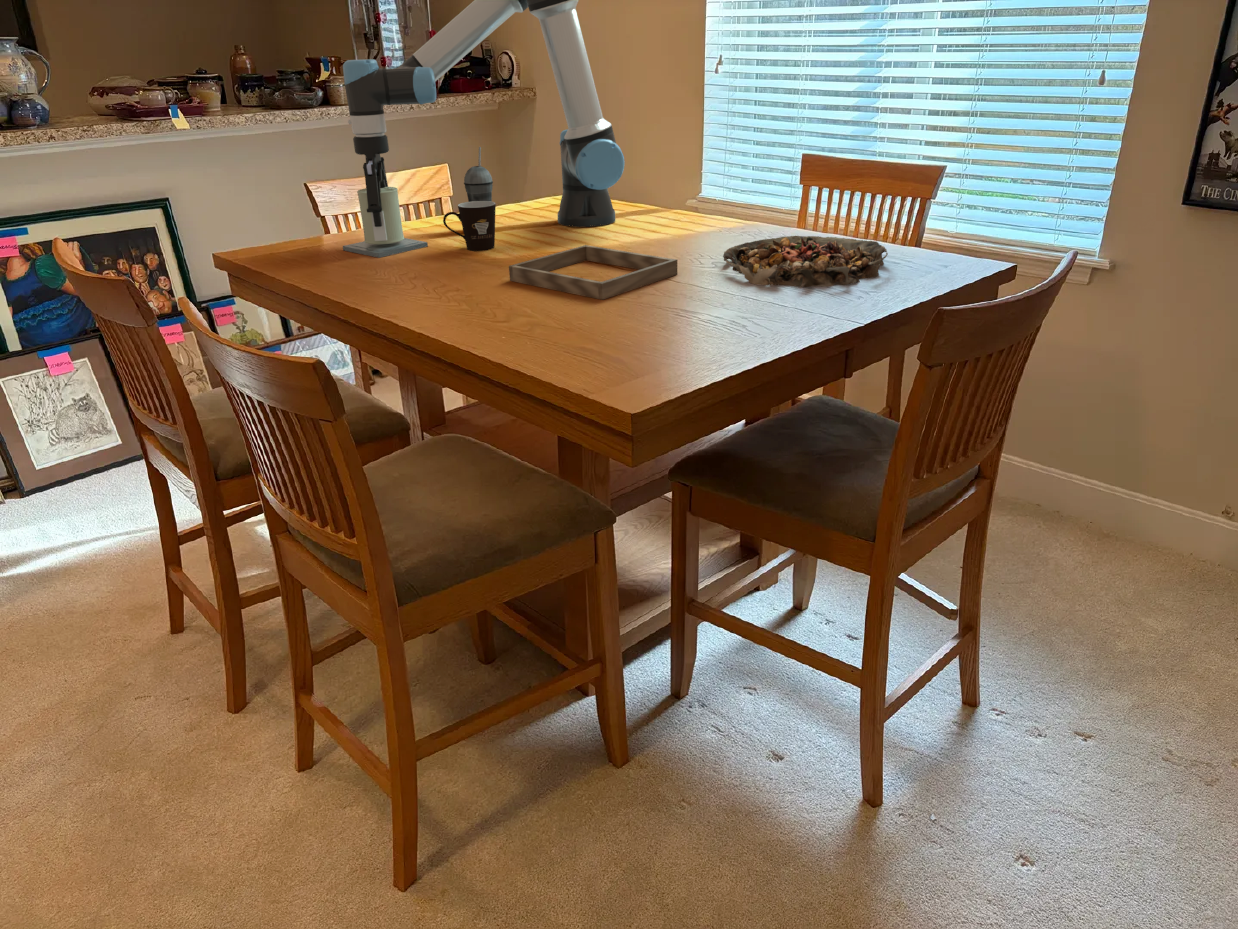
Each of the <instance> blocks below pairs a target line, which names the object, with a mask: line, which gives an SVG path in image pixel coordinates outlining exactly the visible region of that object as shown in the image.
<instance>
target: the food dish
mask: <svg viewBox="0 0 1238 929" xmlns="http://www.w3.org/2000/svg"><path fill="white" fill-rule="evenodd" d="M883 253H885V255H884V256H883ZM888 254H889V253H888V250H887V248H886V247H885V246H884V245H881V244H880V243H879V242H878V241H876V240H863V239H855V238H846V237H836V236H835V237H833V236H825V237H823V236H820V235H819V236H818V235H817V236H816V235H815V236H814V235H809V236H804V235H789V236H780V237H775V238H767V239H766V238H764V239H758V240H753V241H750V242H749V241H748V242H744V243H741V244H738V245H737V244H736V245H734V246H731V247H729V248H728V249H726V250H725V251H723V256H722V257H723V261H724V262H726V263H727V264H728V265H730V266H732V270H733V271H735V272H738V274H742V275H744V278H745V280H747V281H748V283H750V284H752V285H759V286H760V285H762V286H785V287H786V286H787V287H788V286H789V287H798V288H800V289H802V288H808V287H812V288H814V287H820V288H826V287H827V288H828V287H833V286H847V285H852V284H853V285H854V284H856V283H859V282H861V280H863V279H874V278H876V277H879V275H880V274H879V270H880V267H881V266H884V265H885V263H884V260H885V259H886V257H887V256H888ZM729 260H730V261H729ZM731 261H732V262H731Z"/></svg>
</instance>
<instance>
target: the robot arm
mask: <svg viewBox="0 0 1238 929" xmlns="http://www.w3.org/2000/svg"><path fill="white" fill-rule="evenodd" d="M579 1H580V0H473V1H472V2H471V3H469V5H467V6H466V7H465V8H464V9H462V10H461V11H460V12H459V14H457V15H455V17H453V18H452V19H451V20H450V21H449V22H448V23H447V24H446V25H444V26H443V27H442V28H441V29H440V30H439V31H438V32H436V33H435V34H434V35H433V36H432V37H431V38H430V39H428V40H427V41H426V42H425V43H424V44H423V45H422V46H421V47H419V49H417V50H416V51H415V52H414V53H412V55H411V56H409V57H408V58H407V59H406V60H404V62H403V63H401V64H400V65H398V66H397V67H395V68H394V67H393V68H380V67H379V65H378V61H377V60H376V59H373V58H372V59H369V58H368V59H347V60H346V61H345V62H344V63H343V64H342V69H343V70H342V71H343V80H344V89H345V95H346V101H347V108H348V113H349V119H348V120H347V124H349V125H351V131H352V134H353V135H355V136H353V138H352V140H353V148H354V153H355V154H356V155H361V156H362V155H364V156H365V162H363V166H362V169H363V173H364V174H363V175H364V180H365V188H366V192H367V201H368V209H367V212H371V218H372V225H373V231H374V238H375V241H386V240H387V234H386V227H385V220H384V213H383V211H382V205H381V196H380V192H381V189H380V188H385V187H389V185H388V178H387V173H386V168H385V158H384V157H383V156H381V155H382V154H383V155H384V154H386V153H388V152H390V147H389V139H388V136H387V135H386V134H385V133H387V131H388V129H387V122H386V117H385V111H384V106H393V105H395V106H396V105H400V106H401V105H424V104H433V103H435V102H436V100H437V88H436V86H437V85H436V82H437V81H438V80H439V79H440V78H441V77H443V76H444V75H445V74H446V73H448V71H450V69H452V68H453V67H454V66H455V65H456V64H458V63H459V62H460V61H461V60H462V59H463V58H465V57H466V55H468V54H469V53H471V51H473V50H474V49H475V48H476V47H477V46H478V45H480V44H481V43H482V42H483V41H484V40H485V39H487V37H489V36H490V35H491V34H492V33H494V31H495V30H497V29H498V28H499V27H500V26H501V25H502V24H504V23H505V22H506V21H507V20H508V19H509V18H510V17H512V16H513V15H514V14H516V13H520V14H521V13H524V12H525V11H526V10H527V9H528V10H529V14H531V15H532V16H534V17H535V18H537V19H538V21H539V24H540V29H541V33H542V36H543V40H544V44H545V47H546V51H547V54H548V59H549V62H550V66H551V69H552V72H553V77H554V81H555V84H556V88H557V91H558V94H559V95H558V96H559V99H560V103H561V106H562V110H563V113H564V116H565V120H566V125H567V129H564V130H562V131H561V132H560V134H559V135H560V136H559V146H560V160H561V162H560V163H561V179H562V180H561V181H562V182H561V183H562V193H561V194H562V195H561V199H560V203H559V204H560V205H559V208H558V209H559V210H558V211H557V223H558V224H559V225H562V226H567V227H576V228H577V227H579V228H580V227H581V228H582V227H583V228H585V227H586V228H587V227H597V226H599V227H600V226H605V225H609V224H610V225H611V224H613V223H614V222H616V210H615V209H614V206H613V203H612V200H611V196H610V193H609V189H608V188H611V187H613V186H614V185H615V184H616V183H617V182H618V181H620V179H621V177H622V175H623V173H624V169H625V163H626V161H625V157H624V153H623V152H622V148H621V147H620V146H619V145H618V144H617V140H616V137H615V134H614V130H613V125H612V123H611V122H609V121H608V119H605V118H604V115H603V111H602V108H601V104H600V100H599V96H598V92H597V89H596V84H595V81H594V76H593V73H592V72H593V71H592V68H591V64H590V61H589V56H588V52H587V49H586V44H585V41H584V37H583V33H582V29H581V26H580V21H579V17H578V12H577V5H578V3H579Z"/></svg>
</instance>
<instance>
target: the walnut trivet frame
mask: <svg viewBox="0 0 1238 929" xmlns="http://www.w3.org/2000/svg"><path fill="white" fill-rule="evenodd" d="M586 261H589V262H595V263H600V264H607V265H611V266H612V265H613V266H617V267H624V268H630V269H635V271H632V272H629V273H626V274H622V275H618V276H615V277H614V278H610V279H606V280H603V281H598V280H593V279H589V278H583V277H579V276H572V275H567V274H562V273H557V272H552V271H554V270H558V269H561V268H564V267H568V266H571V265H575V264H579V263H582V262H586ZM508 273H509V281H510V282H514V283H515V282H516V283H519V284H525V285H529V286H535V287H538V288H544V289H549V290H553V291H558V292H563V293H569V294H573V295H578V296H583V297H587V298H592V299H598V300H606V299H609V298H613V297H614V296H618V295H621V294H624V293H627V292H630V291H633V290H635V289H639V288H641V287H644V286H647V285H650V284H653V283H656V282H659V281H661V280H665V279H668V278H671V277H674V276H678V259H675V258H668V257H665V256H664V257H663V256H658V255H657V256H656V255H652V254H651V255H650V254H646V253H645V254H644V253H638V252H631V251H625V250H619V249H615V248H614V249H612V248H607V247H600V246H595V245H587V244H585V245H580V246H578V247H574V248H570V249H566V250H563V251H559V252H555V253H552V254H547V255H543V256H540V257H537V258H533V259H529V260H525V261H522V262H518V263H514V264H512V265H508Z"/></svg>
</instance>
